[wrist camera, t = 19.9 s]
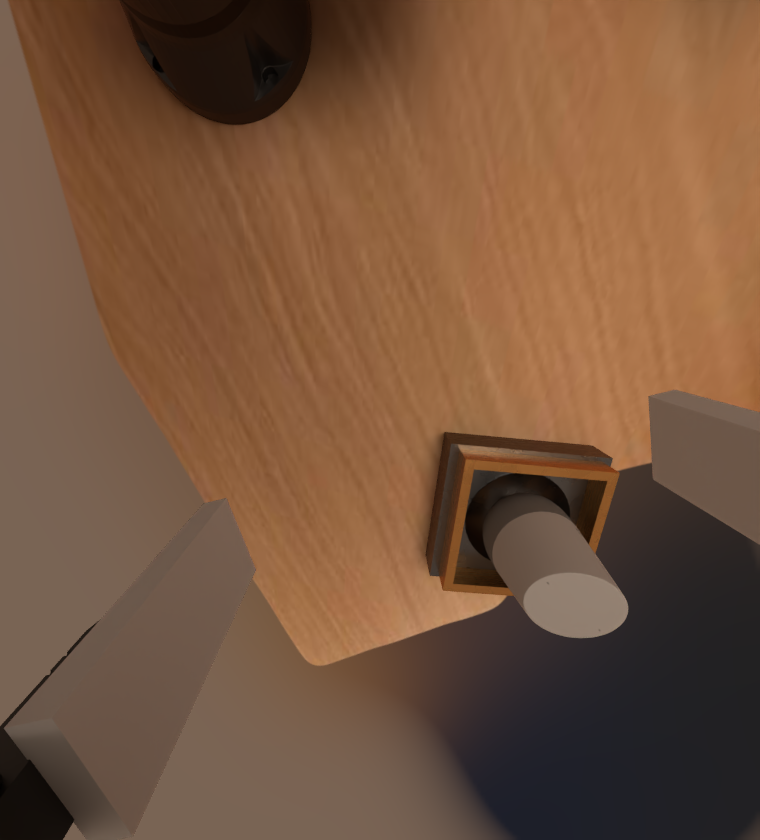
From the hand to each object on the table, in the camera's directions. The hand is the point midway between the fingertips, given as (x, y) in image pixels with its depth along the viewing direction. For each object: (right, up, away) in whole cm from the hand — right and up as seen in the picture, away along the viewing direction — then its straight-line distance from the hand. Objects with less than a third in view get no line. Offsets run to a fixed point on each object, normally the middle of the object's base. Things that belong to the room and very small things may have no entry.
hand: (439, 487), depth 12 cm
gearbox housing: (+14, -8, +36) cm, 39 cm away
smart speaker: (+14, -9, +32) cm, 36 cm away
